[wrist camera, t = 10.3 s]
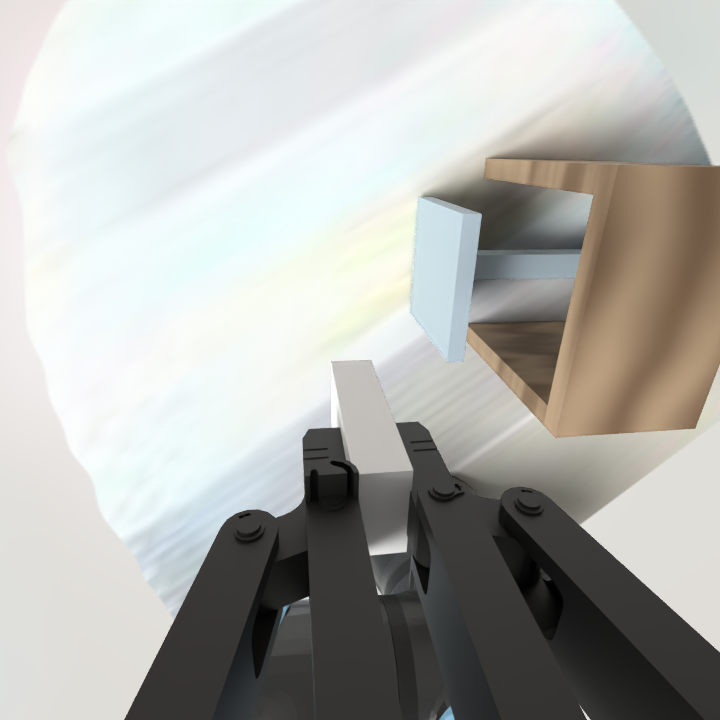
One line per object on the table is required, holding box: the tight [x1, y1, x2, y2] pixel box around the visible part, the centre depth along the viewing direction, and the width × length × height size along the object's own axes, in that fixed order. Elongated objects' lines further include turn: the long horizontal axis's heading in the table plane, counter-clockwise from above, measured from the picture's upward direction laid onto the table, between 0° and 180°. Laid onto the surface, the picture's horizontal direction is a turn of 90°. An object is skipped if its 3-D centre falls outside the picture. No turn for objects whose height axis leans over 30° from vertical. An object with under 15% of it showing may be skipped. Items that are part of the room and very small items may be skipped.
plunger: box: [410, 197, 582, 362], centre depth 36 cm, size 18×11×11 cm, turn 89°
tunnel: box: [466, 158, 720, 438], centre depth 34 cm, size 10×16×17 cm, turn 179°
